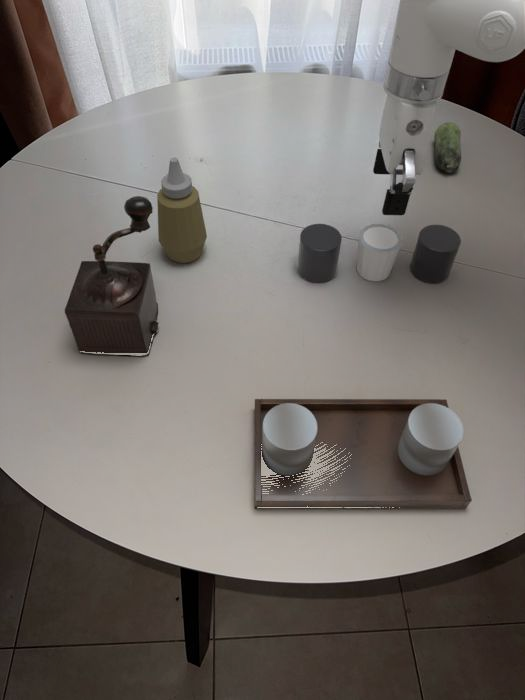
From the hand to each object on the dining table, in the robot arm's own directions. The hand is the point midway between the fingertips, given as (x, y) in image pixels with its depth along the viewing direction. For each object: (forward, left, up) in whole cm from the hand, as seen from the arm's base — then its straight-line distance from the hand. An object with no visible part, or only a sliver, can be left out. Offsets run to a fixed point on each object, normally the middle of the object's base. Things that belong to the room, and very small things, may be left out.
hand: (388, 192), depth 85 cm
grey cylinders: (0, 0, -15) cm, 15 cm away
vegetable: (-19, -33, -16) cm, 41 cm away
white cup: (0, 0, -16) cm, 16 cm away
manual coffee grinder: (+40, +11, -16) cm, 44 cm away
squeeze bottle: (+32, -4, -16) cm, 35 cm away
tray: (+7, +35, -15) cm, 39 cm away
